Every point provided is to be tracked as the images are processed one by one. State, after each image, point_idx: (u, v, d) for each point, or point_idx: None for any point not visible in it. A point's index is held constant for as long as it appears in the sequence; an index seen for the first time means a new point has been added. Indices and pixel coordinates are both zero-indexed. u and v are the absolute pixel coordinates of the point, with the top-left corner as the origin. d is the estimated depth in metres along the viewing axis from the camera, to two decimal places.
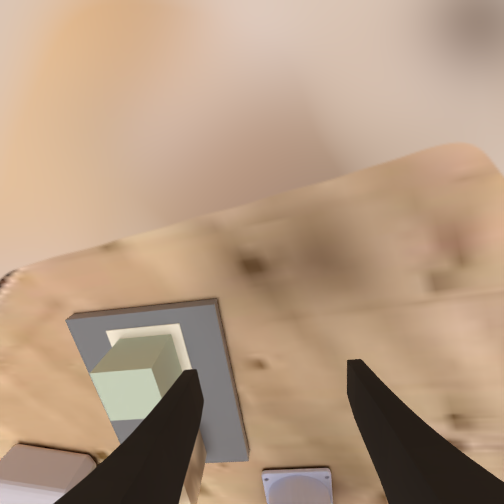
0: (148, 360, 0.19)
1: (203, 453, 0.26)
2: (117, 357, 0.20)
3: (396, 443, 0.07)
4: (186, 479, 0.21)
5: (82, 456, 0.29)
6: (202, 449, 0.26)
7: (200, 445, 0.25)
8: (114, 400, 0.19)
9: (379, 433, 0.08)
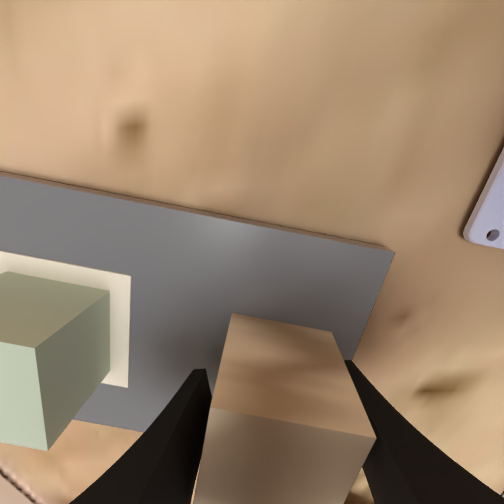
0: None
1: (313, 335, 0.11)
2: None
3: (380, 443, 0.07)
4: (247, 397, 0.08)
5: None
6: (300, 333, 0.11)
7: (283, 331, 0.11)
8: None
9: None
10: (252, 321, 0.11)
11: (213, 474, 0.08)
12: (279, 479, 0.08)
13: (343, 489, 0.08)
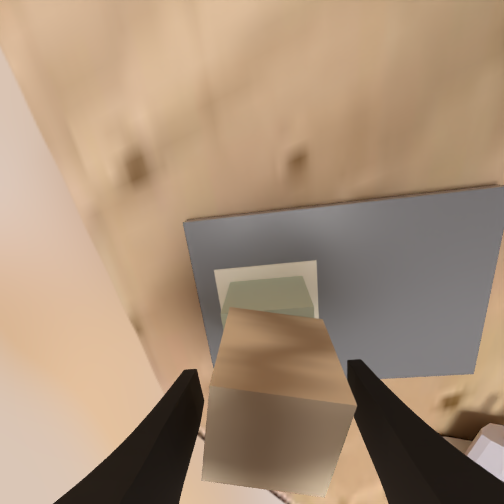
0: None
1: (305, 323, 0.12)
2: None
3: (396, 443, 0.07)
4: (243, 376, 0.09)
5: None
6: (293, 321, 0.12)
7: (277, 321, 0.12)
8: None
9: (379, 433, 0.08)
10: (248, 313, 0.12)
11: (217, 447, 0.09)
12: (276, 449, 0.09)
13: (333, 455, 0.09)
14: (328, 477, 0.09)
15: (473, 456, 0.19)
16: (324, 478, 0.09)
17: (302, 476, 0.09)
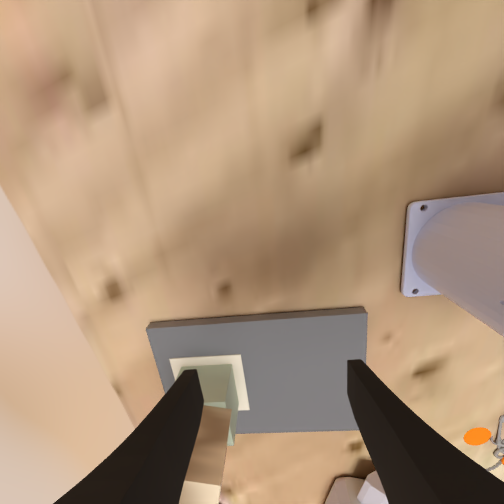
0: None
1: (217, 414, 0.19)
2: None
3: (396, 443, 0.07)
4: None
5: (334, 484, 0.29)
6: (209, 413, 0.19)
7: None
8: None
9: (378, 433, 0.08)
10: None
11: None
12: None
13: None
14: None
15: (361, 495, 0.26)
16: None
17: None
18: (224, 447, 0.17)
